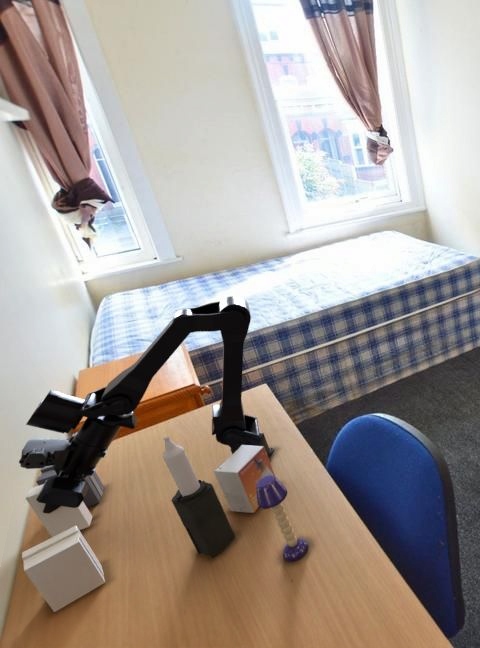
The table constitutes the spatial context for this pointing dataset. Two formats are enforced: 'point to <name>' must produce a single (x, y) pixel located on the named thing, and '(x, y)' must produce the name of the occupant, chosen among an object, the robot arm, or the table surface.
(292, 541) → the toy lamp
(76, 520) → the white tall block
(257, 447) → the small box
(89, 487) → the grey books
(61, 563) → the white books
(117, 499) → the table surface
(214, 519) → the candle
